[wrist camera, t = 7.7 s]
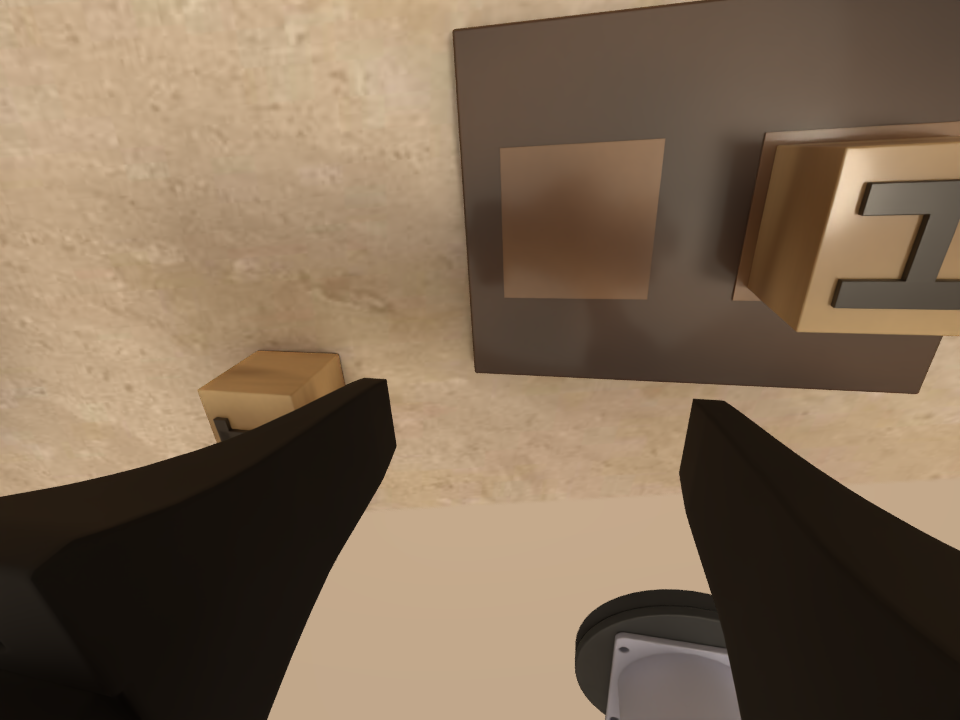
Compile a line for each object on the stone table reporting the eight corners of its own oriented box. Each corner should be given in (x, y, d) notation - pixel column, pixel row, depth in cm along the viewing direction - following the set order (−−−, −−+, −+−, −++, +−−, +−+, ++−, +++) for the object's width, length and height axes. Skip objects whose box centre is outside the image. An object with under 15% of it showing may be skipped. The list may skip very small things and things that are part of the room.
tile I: (355, 430, 23) (311, 485, 19) (279, 424, 24) (224, 476, 20) (338, 353, 21) (287, 398, 17) (257, 349, 22) (192, 392, 18)
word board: (901, 381, 17) (921, 396, 16) (479, 363, 20) (473, 374, 19) (1068, -34, 11) (1112, -50, 10) (459, 35, 15) (451, 28, 14)
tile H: (897, 289, 14) (1007, 341, 11) (746, 288, 15) (798, 335, 11) (953, 135, 12) (1111, 134, 9) (776, 145, 13) (850, 147, 10)
